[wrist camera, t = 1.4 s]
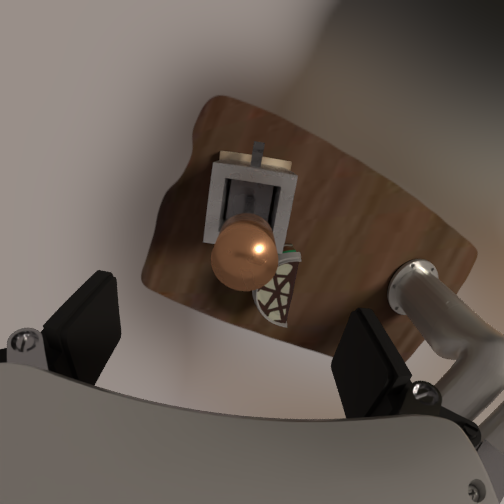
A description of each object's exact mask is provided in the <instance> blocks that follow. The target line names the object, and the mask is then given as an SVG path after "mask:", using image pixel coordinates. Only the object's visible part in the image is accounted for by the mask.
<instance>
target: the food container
mask: <svg viewBox="0 0 504 504" xmlns="http://www.w3.org/2000/svg"><path fill="white" fill-rule="evenodd" d="M299 262H301V255H300V252H296V250H295V249H294V247H293V245H292V244H284V247H283V252H282V254H278V268H277V271H276V273H275V275H274V276H273V278H272V279H271V280H270V281H269V282H268V283H267V284H266V285H264V286H263V287H261V288H259V289H256V290H252V294H253V299H254V302H255V304H256V306H257V308H258V310H259V312H260V313H261V314H262V315H263V316H264V317H265V318H266V319H267V320H269V321H270V322H272V323H274V324H276V325H279V326H282V327H287V316H288V311H289V307H290V303H291V299H292V295H293V289H294V284H295V279H296V274H297V269H298V264H299Z"/></svg>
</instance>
